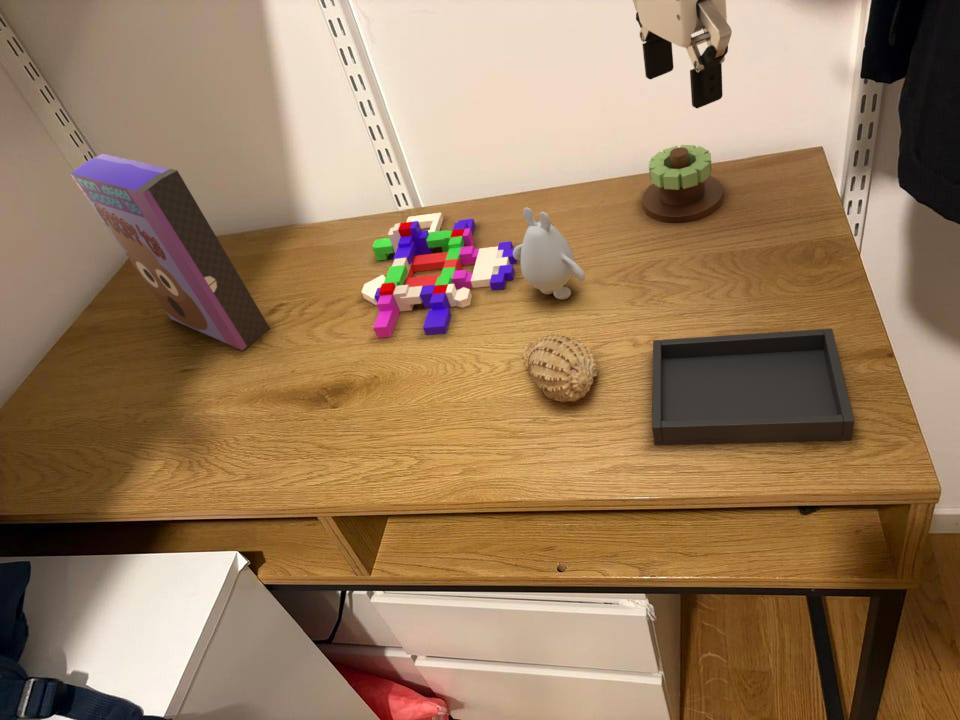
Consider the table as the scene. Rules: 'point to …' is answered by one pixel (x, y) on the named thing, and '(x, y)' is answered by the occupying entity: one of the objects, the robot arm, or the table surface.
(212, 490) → the table surface
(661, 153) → the ring
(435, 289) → the building block set
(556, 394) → the seashell
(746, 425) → the tray
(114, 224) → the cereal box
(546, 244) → the toy figure
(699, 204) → the stand
